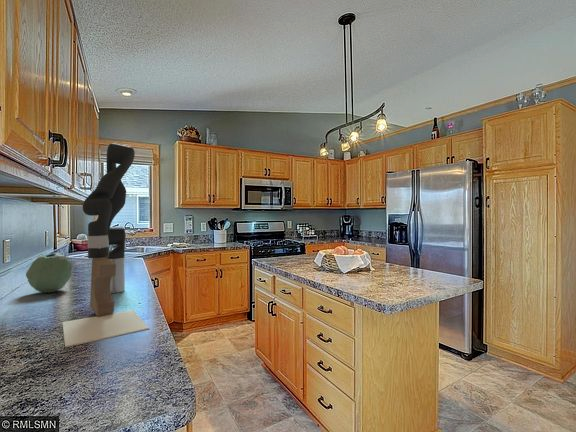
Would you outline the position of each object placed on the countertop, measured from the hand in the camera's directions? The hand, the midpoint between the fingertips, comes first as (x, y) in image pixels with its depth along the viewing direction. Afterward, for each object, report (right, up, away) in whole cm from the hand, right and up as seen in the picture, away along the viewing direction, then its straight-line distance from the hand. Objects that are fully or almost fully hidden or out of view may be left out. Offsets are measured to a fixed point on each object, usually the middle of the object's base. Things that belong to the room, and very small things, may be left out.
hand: (99, 287), depth 127 cm
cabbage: (-43, -9, +29) cm, 52 cm away
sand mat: (+15, -8, -21) cm, 27 cm away
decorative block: (+5, -7, -7) cm, 12 cm away
